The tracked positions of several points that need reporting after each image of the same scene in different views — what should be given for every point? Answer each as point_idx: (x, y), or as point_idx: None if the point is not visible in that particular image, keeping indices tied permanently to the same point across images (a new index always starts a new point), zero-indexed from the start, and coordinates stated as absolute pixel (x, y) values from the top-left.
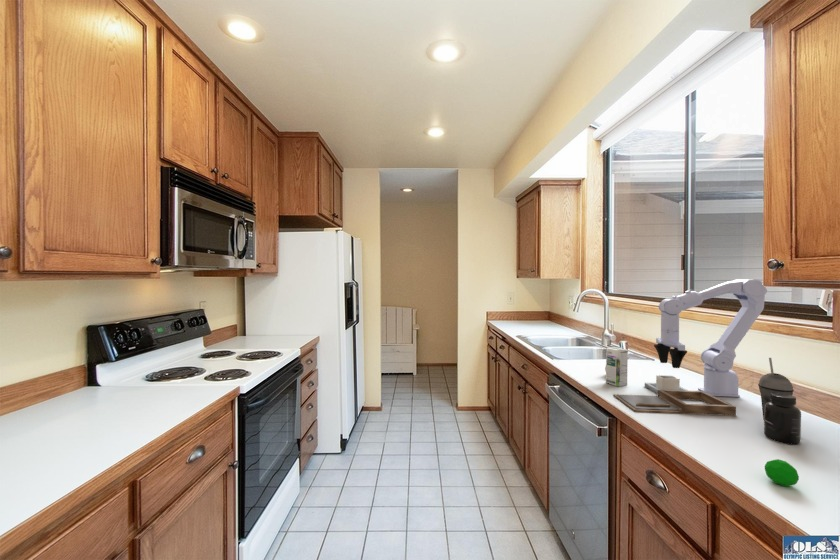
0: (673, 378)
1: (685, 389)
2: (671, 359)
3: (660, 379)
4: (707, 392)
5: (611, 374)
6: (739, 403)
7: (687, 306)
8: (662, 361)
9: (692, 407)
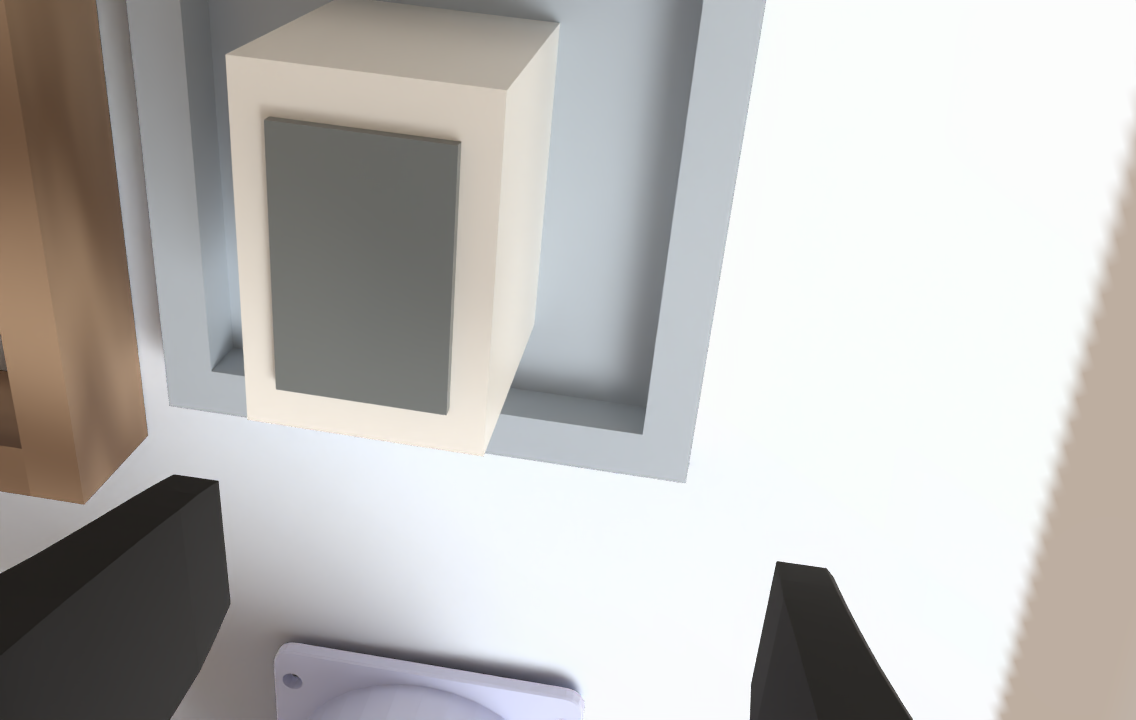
0: (270, 324)
1: None
2: (60, 603)
3: (329, 55)
4: (374, 668)
5: None
6: None
7: None
8: (771, 617)
9: None
